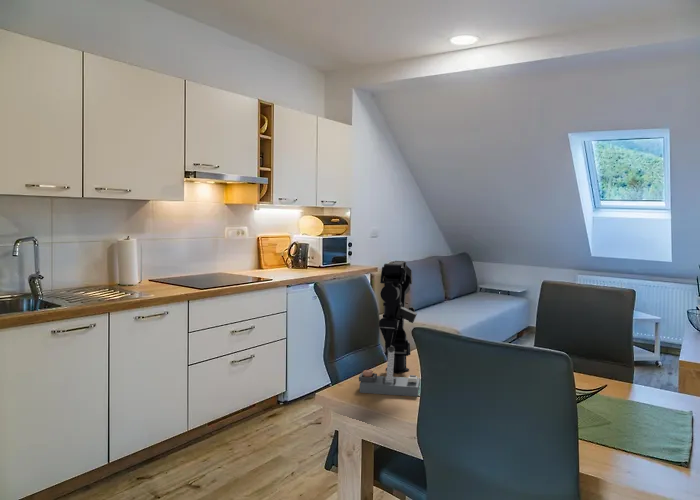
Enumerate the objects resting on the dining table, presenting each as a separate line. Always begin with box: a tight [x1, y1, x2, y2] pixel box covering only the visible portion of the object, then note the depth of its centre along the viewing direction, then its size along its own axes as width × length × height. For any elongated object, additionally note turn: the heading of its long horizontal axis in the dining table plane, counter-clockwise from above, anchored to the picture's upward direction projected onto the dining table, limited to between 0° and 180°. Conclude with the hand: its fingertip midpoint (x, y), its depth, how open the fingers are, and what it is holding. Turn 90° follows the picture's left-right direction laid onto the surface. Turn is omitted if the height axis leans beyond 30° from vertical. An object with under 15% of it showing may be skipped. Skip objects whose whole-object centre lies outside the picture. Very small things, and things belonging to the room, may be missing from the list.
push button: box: [362, 369, 374, 377], centre depth 172 cm, size 3×3×2 cm
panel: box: [358, 372, 421, 397], centre depth 171 cm, size 9×20×5 cm, turn 78°
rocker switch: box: [407, 374, 418, 382], centre depth 169 cm, size 4×3×2 cm, turn 168°
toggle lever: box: [386, 346, 395, 381], centre depth 172 cm, size 2×2×12 cm
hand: (390, 344), depth 178 cm, fingers open, 9 cm apart
